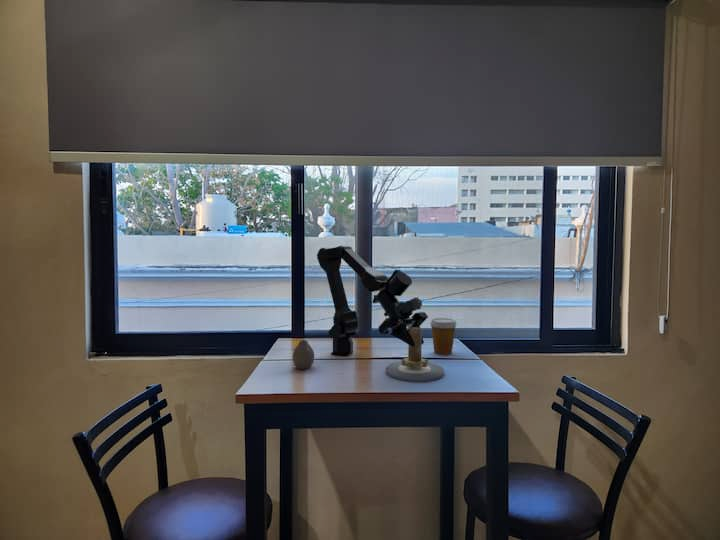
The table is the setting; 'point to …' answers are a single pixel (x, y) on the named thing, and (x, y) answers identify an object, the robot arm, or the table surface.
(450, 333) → the disposable coffee cup
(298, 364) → the vase
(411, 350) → the gear
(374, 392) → the table surface
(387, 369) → the disc
